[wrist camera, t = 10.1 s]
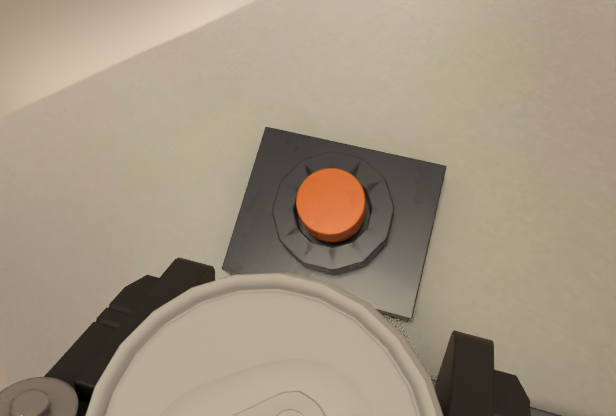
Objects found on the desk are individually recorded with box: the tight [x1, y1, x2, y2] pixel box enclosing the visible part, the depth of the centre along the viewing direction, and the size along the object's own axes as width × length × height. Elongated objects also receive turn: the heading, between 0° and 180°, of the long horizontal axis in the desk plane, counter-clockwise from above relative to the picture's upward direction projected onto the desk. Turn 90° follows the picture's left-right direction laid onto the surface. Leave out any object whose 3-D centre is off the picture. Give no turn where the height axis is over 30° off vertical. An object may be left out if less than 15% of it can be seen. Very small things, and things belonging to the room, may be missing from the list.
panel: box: [222, 127, 446, 321], centre depth 33 cm, size 11×9×4 cm
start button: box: [296, 168, 366, 243], centre depth 31 cm, size 4×4×2 cm
